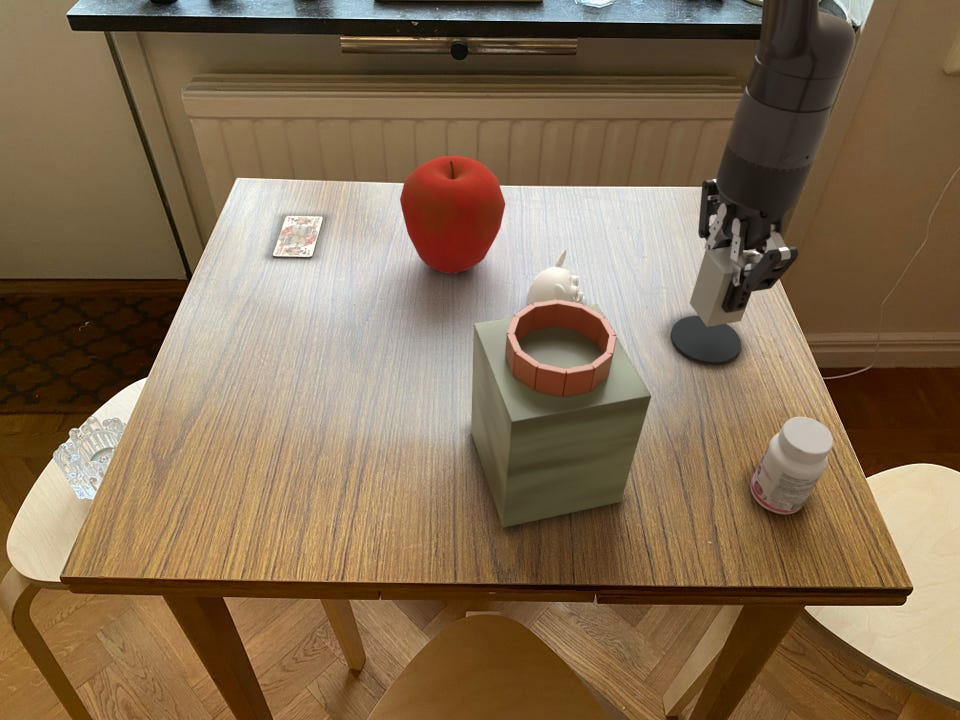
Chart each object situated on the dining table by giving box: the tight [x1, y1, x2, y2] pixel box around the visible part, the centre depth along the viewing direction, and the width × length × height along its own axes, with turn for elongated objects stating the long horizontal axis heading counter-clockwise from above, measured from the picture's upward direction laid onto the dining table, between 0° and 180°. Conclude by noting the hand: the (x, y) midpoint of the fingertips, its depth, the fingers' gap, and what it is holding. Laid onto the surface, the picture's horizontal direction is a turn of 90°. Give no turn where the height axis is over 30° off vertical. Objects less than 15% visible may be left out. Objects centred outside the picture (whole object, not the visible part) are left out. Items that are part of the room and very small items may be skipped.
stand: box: [470, 303, 652, 528], centre depth 61 cm, size 11×11×14 cm
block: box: [689, 247, 753, 327], centre depth 73 cm, size 4×4×7 cm
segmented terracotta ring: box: [505, 300, 618, 397], centre depth 55 cm, size 8×8×2 cm
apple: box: [399, 155, 506, 274], centre depth 82 cm, size 12×12×14 cm
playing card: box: [272, 215, 324, 258], centre depth 90 cm, size 9×5×1 cm, turn 0°
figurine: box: [526, 249, 586, 307], centre depth 79 cm, size 8×6×7 cm
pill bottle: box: [750, 416, 834, 515], centre depth 61 cm, size 5×5×8 cm
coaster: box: [670, 315, 742, 366], centre depth 78 cm, size 8×8×1 cm
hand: (720, 295), depth 74 cm, fingers closed on block, 4 cm apart
